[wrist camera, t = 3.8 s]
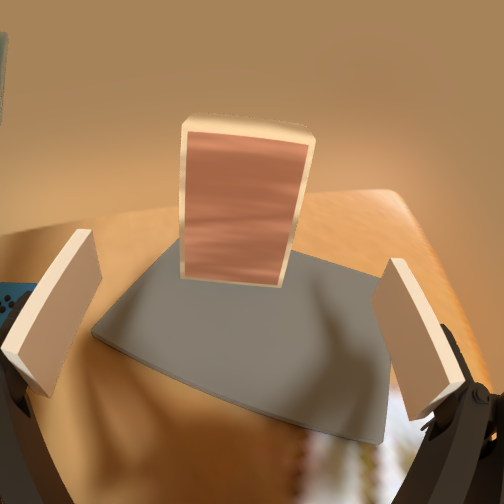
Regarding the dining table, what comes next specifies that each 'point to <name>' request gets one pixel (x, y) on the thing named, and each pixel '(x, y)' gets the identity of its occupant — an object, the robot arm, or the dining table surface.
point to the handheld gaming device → (11, 296)
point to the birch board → (240, 197)
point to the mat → (264, 342)
